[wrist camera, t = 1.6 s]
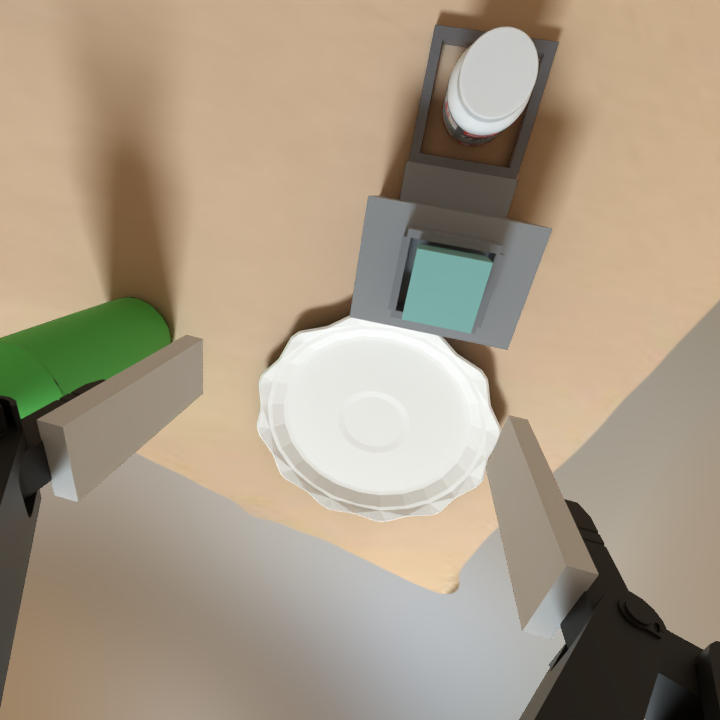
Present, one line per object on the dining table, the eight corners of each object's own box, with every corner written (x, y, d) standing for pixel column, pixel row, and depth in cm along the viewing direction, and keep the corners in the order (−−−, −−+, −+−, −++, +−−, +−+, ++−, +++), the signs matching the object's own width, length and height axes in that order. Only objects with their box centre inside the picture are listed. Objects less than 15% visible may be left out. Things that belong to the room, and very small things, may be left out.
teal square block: (418, 243, 27) (417, 248, 24) (486, 256, 26) (493, 262, 24) (403, 307, 29) (401, 319, 26) (466, 320, 28) (470, 333, 26)
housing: (408, 26, 30) (400, -54, 20) (582, 50, 29) (661, -21, 19) (363, 294, 39) (343, 326, 30) (491, 321, 38) (514, 361, 29)
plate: (531, 340, 39) (537, 349, 37) (456, 528, 52) (457, 542, 49) (270, 286, 41) (261, 291, 39) (260, 479, 54) (253, 491, 52)
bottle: (158, 290, 43) (-129, 392, 21) (185, 356, 47) (-37, 506, 24) (98, 301, 45) (-223, 405, 23) (129, 363, 49) (-126, 509, 26)
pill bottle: (456, 160, 33) (468, 147, 24) (431, 94, 31) (434, 53, 22) (520, 124, 31) (559, 95, 22) (498, 51, 29) (530, -11, 20)
